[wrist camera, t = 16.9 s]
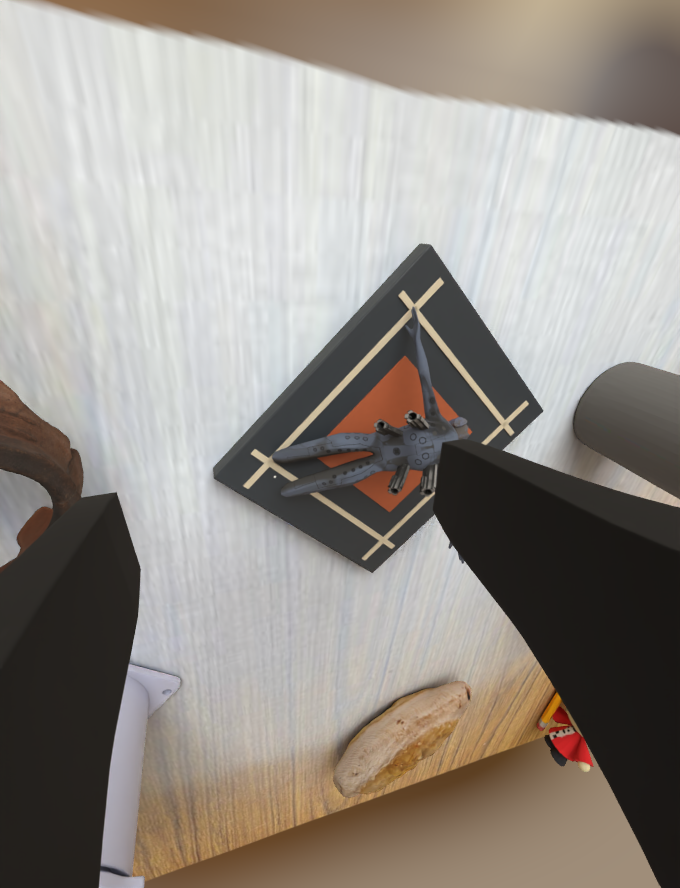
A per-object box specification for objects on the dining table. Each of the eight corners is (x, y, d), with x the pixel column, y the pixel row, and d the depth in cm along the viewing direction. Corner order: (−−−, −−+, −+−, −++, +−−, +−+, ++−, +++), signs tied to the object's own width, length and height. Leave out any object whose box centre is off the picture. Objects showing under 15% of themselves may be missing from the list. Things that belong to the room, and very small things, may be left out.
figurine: (298, 622, 17) (309, 568, 22) (522, 578, 17) (481, 532, 22) (225, 341, 16) (255, 352, 21) (472, 283, 15) (440, 308, 20)
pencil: (535, 725, 47) (539, 731, 46) (602, 614, 39) (608, 620, 38) (540, 723, 47) (544, 729, 47) (608, 612, 39) (614, 618, 39)
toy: (515, 708, 47) (607, 622, 42) (561, 725, 48) (654, 644, 44) (547, 780, 40) (660, 687, 35) (599, 797, 42) (714, 710, 37)
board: (366, 562, 26) (373, 574, 25) (212, 467, 20) (213, 479, 19) (532, 404, 24) (545, 411, 23) (420, 242, 18) (432, 243, 17)
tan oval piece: (466, 679, 37) (496, 729, 33) (340, 764, 37) (356, 823, 34) (446, 656, 34) (476, 708, 31) (310, 749, 35) (323, 811, 31)
